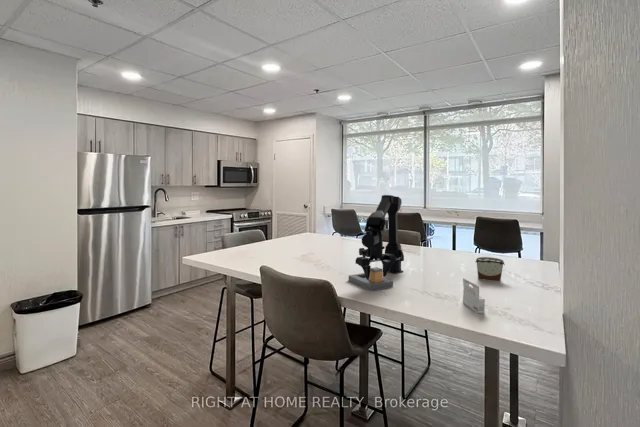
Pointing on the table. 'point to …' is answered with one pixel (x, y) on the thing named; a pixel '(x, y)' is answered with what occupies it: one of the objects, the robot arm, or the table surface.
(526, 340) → the table surface
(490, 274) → the food container
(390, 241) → the robot arm
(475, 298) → the ink cartridge box
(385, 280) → the socket plate
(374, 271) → the plug
